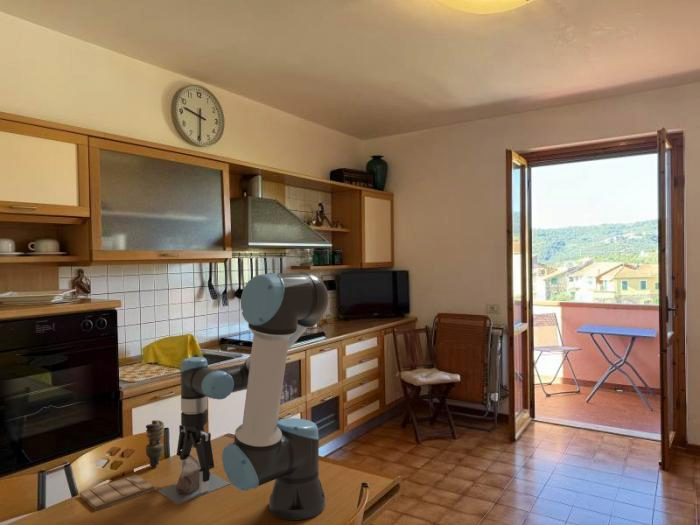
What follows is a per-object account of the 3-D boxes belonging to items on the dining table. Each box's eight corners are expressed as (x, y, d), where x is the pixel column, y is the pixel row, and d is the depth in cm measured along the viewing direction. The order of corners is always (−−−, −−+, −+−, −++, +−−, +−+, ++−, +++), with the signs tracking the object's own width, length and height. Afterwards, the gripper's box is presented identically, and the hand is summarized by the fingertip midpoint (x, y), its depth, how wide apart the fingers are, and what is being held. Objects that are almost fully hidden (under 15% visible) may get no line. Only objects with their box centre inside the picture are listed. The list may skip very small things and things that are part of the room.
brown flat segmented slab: (154, 490, 143) (154, 485, 143) (96, 511, 132) (96, 505, 132) (136, 478, 152) (136, 473, 152) (80, 496, 140) (80, 491, 140)
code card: (230, 483, 147) (230, 483, 147) (177, 504, 135) (177, 504, 135) (209, 472, 156) (209, 471, 156) (157, 490, 143) (157, 490, 143)
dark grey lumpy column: (157, 461, 164) (156, 417, 164) (168, 465, 161) (167, 419, 161) (142, 468, 159) (142, 421, 159) (153, 471, 156) (153, 424, 156)
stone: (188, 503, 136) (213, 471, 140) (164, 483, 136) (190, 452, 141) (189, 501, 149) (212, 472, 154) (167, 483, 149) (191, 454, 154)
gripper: (226, 415, 140) (227, 493, 140) (186, 400, 156) (187, 471, 156) (203, 421, 135) (203, 503, 135) (164, 406, 150) (164, 479, 150)
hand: (195, 486), depth 145 cm, fingers closed on stone, 10 cm apart
